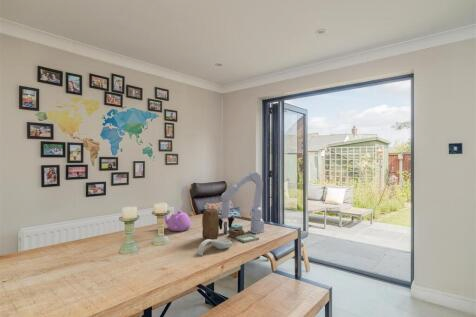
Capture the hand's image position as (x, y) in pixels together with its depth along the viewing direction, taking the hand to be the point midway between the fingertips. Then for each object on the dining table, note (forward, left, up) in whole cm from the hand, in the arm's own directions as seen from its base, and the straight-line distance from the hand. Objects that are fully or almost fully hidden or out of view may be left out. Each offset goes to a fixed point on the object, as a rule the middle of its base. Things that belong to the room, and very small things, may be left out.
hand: (225, 228), depth 190 cm
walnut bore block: (-3, +10, -3) cm, 11 cm away
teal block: (-10, 0, -3) cm, 10 cm away
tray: (-5, +19, -3) cm, 20 cm away
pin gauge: (0, 0, -4) cm, 4 cm away
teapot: (+25, -28, -4) cm, 38 cm away
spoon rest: (+23, +24, -4) cm, 34 cm away
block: (+17, +8, -4) cm, 19 cm away
